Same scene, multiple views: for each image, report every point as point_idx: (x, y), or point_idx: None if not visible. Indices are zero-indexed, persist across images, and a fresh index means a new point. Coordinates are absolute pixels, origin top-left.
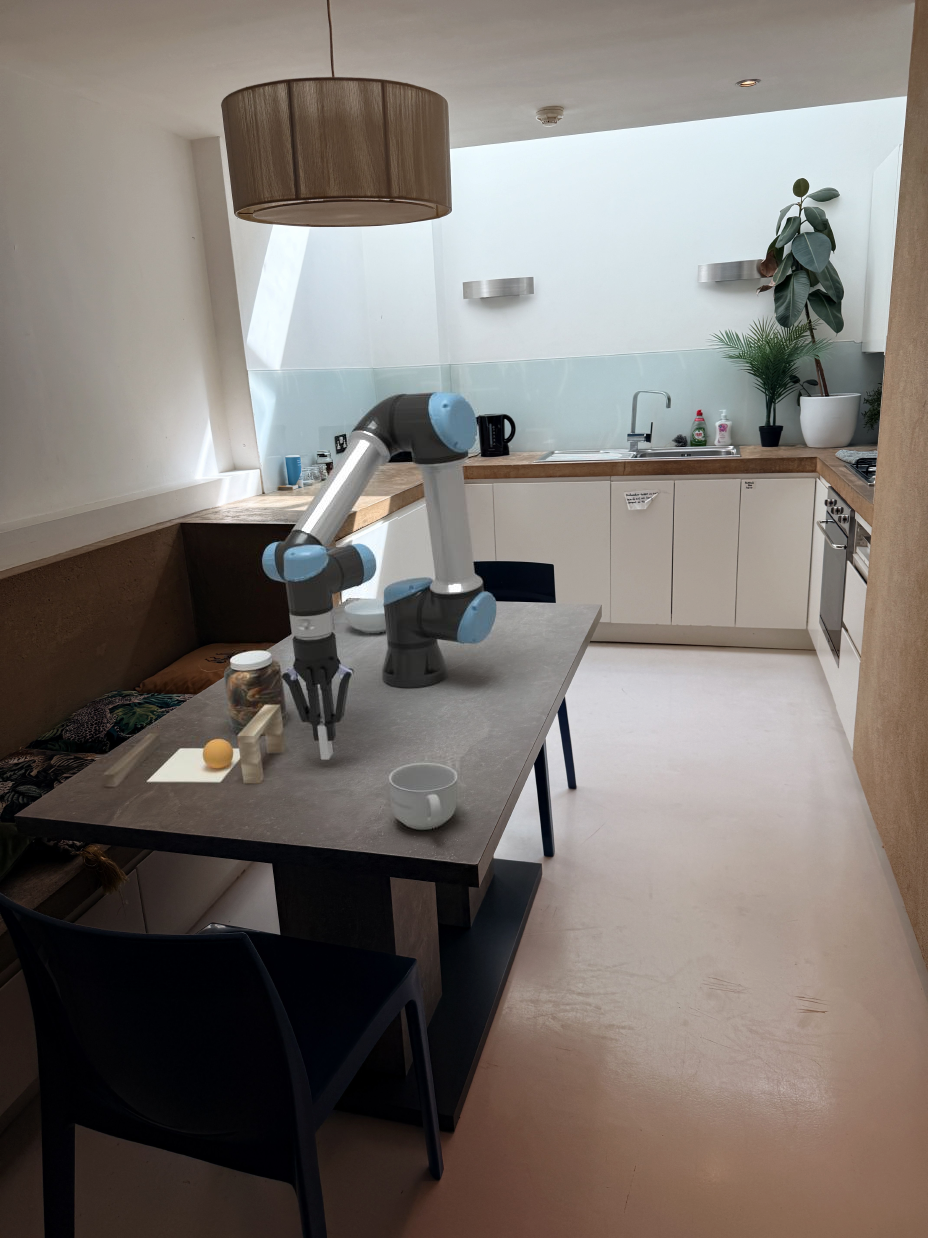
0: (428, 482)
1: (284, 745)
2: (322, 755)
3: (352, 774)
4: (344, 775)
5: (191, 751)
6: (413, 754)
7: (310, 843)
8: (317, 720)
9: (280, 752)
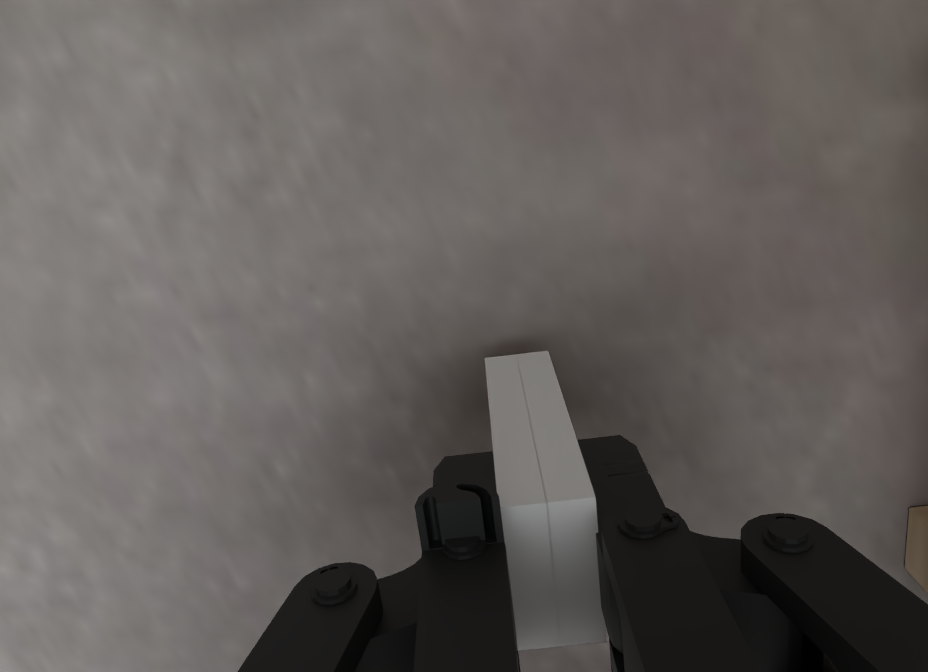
0: None
1: (923, 575)
2: (536, 365)
3: (283, 274)
4: (334, 252)
5: None
6: (11, 593)
7: None
8: (605, 555)
9: (925, 510)
